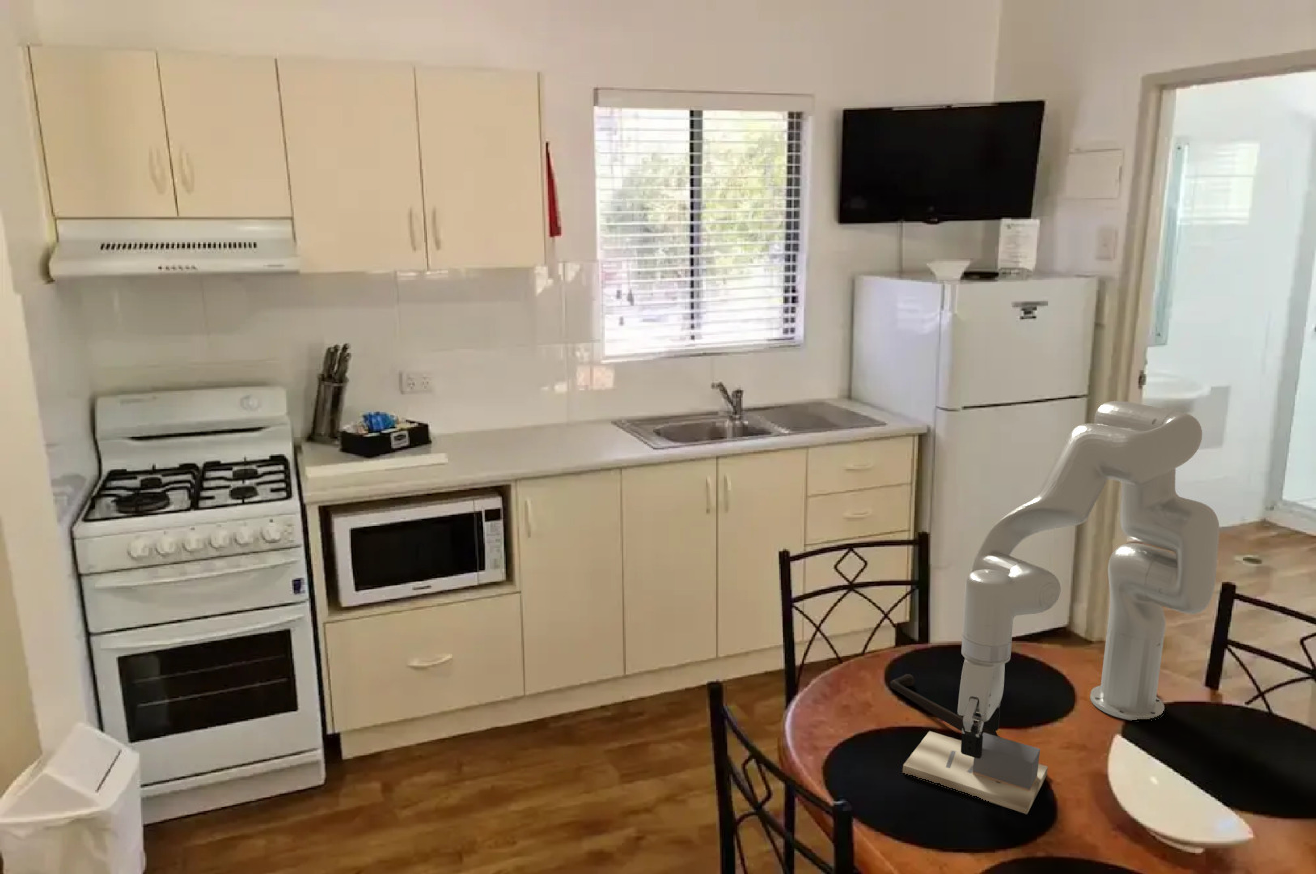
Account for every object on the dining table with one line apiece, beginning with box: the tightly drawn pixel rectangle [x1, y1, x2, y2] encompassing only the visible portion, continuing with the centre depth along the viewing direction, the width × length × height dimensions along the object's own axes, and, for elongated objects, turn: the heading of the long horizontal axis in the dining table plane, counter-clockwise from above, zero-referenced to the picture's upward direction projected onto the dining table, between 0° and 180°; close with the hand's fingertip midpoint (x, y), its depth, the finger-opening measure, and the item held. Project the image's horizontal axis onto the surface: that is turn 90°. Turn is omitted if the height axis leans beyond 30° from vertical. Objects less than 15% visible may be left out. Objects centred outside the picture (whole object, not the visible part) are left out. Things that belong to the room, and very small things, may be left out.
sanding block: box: [973, 733, 1041, 791], centre depth 158 cm, size 5×9×5 cm, turn 56°
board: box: [902, 730, 1049, 815], centre depth 161 cm, size 13×20×2 cm, turn 56°
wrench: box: [889, 673, 1000, 737], centre depth 178 cm, size 5×5×30 cm
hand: (980, 741), depth 161 cm, fingers open, 9 cm apart
